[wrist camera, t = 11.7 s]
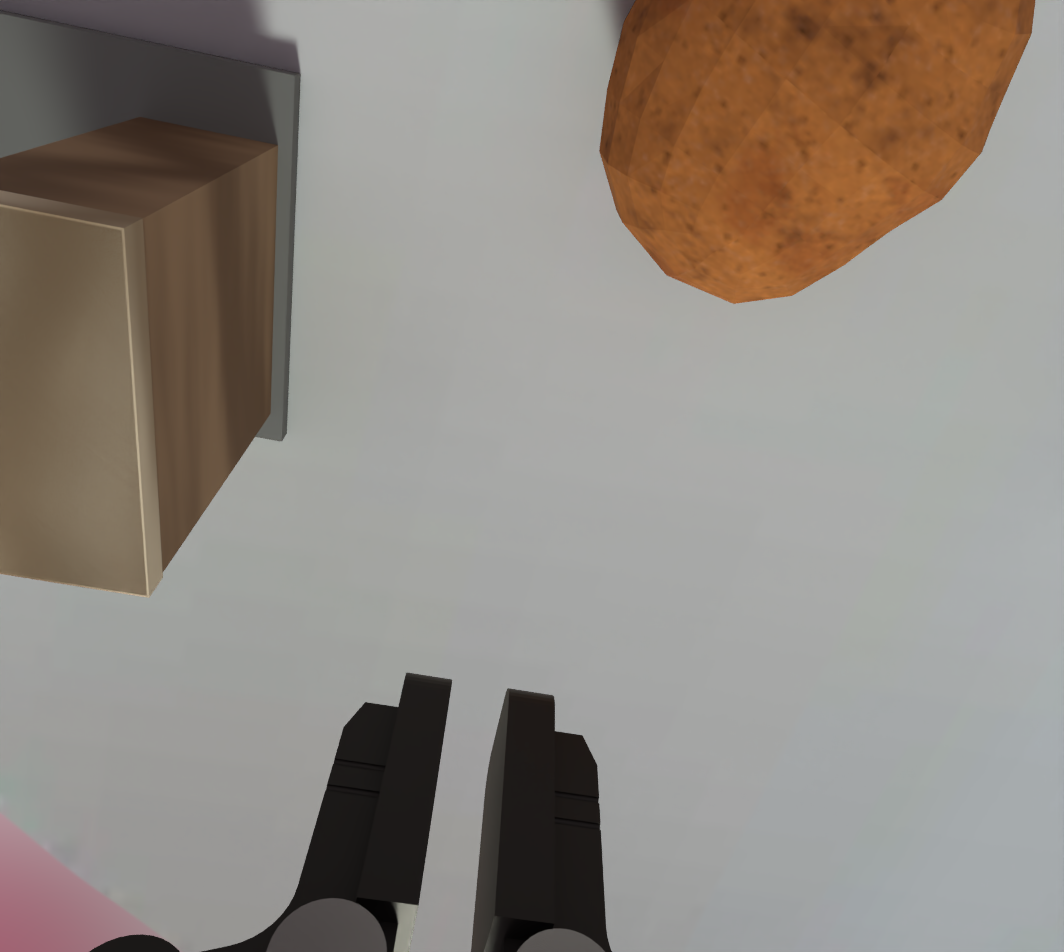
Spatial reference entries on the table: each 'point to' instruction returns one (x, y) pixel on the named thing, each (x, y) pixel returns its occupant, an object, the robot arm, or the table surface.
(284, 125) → the mat
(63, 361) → the slab
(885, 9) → the potato
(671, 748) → the table surface
